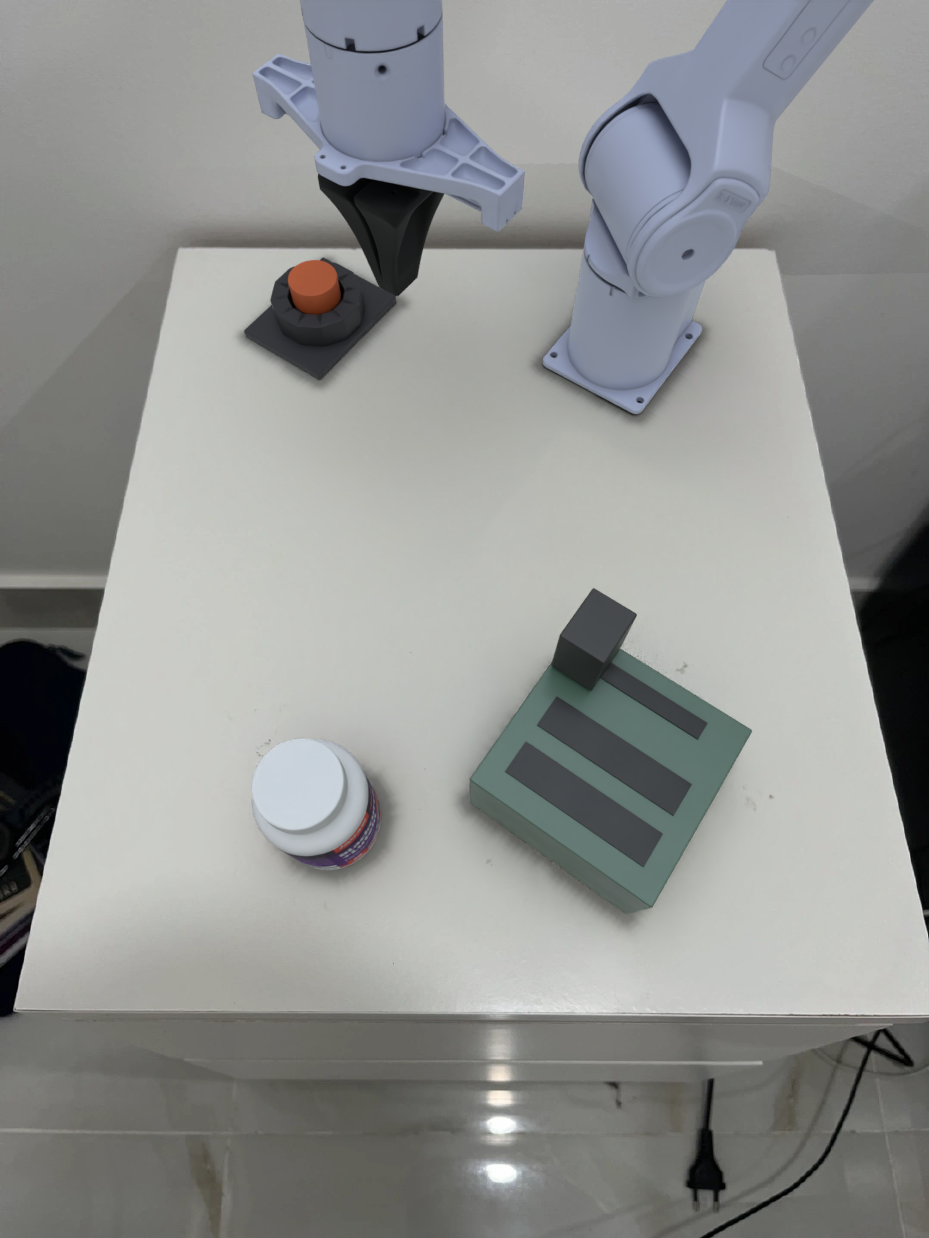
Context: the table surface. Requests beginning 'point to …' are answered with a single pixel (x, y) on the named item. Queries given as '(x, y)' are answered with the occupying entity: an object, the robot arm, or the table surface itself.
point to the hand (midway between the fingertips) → (398, 281)
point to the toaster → (609, 776)
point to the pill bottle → (315, 803)
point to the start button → (314, 287)
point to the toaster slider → (592, 638)
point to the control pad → (319, 323)
